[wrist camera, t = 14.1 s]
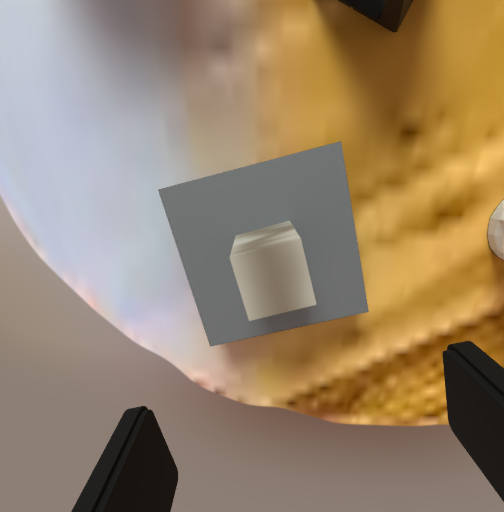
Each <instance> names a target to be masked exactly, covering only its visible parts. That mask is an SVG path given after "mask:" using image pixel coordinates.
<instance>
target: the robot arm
mask: <svg viewBox="0 0 504 512" xmlns="http://www.w3.org/2000/svg"><path fill="white" fill-rule="evenodd" d="M443 364H444V376H445V388H446V399H447V411H448V421H449V424H450V427H451V429H452V431H453V432H454V434H455V435H456V437H457V438H458V440H459V441H460V442H461V444H462V445H463V446H464V448H465V449H466V451H467V452H468V453H469V455H470V456H471V457H472V459H473V460H474V462H475V463H476V464H477V466H478V467H479V468H480V470H481V471H482V473H483V474H484V475H485V477H486V478H487V479H488V481H489V482H490V484H491V485H492V486H493V488H494V489H495V490H496V492H497V493H498V494H499V496H500V497H501V499H502V500H503V501H504V368H503V367H501V366H500V365H499V364H498V363H497V362H495V361H494V360H493V359H492V358H491V357H489V356H488V355H487V354H486V353H485V352H483V351H482V350H481V349H480V348H479V347H477V346H476V345H475V344H474V343H472V342H471V341H465V342H460V343H455V344H450V345H448V347H447V350H446V351H443ZM177 482H178V470H177V467H176V465H175V462H174V460H173V458H172V455H171V453H170V451H169V449H168V446H167V444H166V441H165V439H164V437H163V434H162V432H161V430H160V427H159V425H158V423H157V420H156V418H155V416H154V413H153V411H152V410H148V409H147V407H145V406H141V407H136V408H131V409H127V410H126V411H125V412H124V414H123V416H122V418H121V420H120V421H119V423H118V426H117V427H116V429H115V431H114V433H113V435H112V436H111V439H110V440H109V442H108V444H107V446H106V448H105V450H104V452H103V453H102V455H101V457H100V459H99V461H98V463H97V465H96V467H95V468H94V470H93V472H92V474H91V476H90V478H89V480H88V482H87V483H86V485H85V487H84V489H83V491H82V493H81V495H80V497H79V499H78V500H77V502H76V504H75V506H74V508H73V510H72V512H170V510H171V507H172V503H173V498H174V494H175V490H176V486H177Z"/></svg>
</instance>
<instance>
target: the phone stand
mask: <svg viewBox="0 0 504 512" xmlns="http://www.w3.org/2000/svg"><path fill="white" fill-rule="evenodd" d="M339 1H340V2H342V3H344V4H345V5H347V6H349V7H353V9H354V10H356V11H357V12H359V13H361V14H363V15H364V16H366V17H368V18H369V19H371V20H373V21H375V22H376V23H378V24H380V25H381V26H383V27H385V28H387V29H388V30H390V31H392V32H397V30H398V28H399V26H400V24H401V22H402V20H403V19H404V17H405V15H406V13H407V11H408V9H409V7H410V5H411V3H412V1H413V0H339Z"/></svg>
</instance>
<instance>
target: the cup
mask: <svg viewBox="0 0 504 512" xmlns="http://www.w3.org/2000/svg"><path fill="white" fill-rule="evenodd" d="M488 241H489V245H490V248H491V249H492V250H493V252H494V253H495V254H496V255H497V256H498V257H499V258H501V259H503V260H504V200H503V201H502V202H501V203H500V204H499V205H498V207H497V208H496V210H495V211H494V213H493V214H492V216H491V218H490V222H489V227H488Z"/></svg>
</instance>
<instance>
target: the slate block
mask: <svg viewBox="0 0 504 512" xmlns="http://www.w3.org/2000/svg"><path fill="white" fill-rule="evenodd" d="M158 191H159V194H160V197H161V200H162V203H163V206H164V209H165V212H166V215H167V218H168V221H169V224H170V227H171V230H172V233H173V236H174V239H175V242H176V245H177V248H178V251H179V254H180V257H181V260H182V263H183V266H184V269H185V272H186V275H187V278H188V281H189V284H190V287H191V290H192V293H193V296H194V299H195V302H196V305H197V308H198V311H199V314H200V317H201V320H202V323H203V326H204V329H205V332H206V335H207V338H208V341H209V344H210V346H215V345H219V344H224V343H228V342H233V341H238V340H242V339H247V338H251V337H256V336H260V335H265V334H270V333H274V332H279V331H283V330H288V329H292V328H297V327H302V326H306V325H311V324H315V323H320V322H324V321H329V320H334V319H338V318H343V317H347V316H352V315H356V314H361V313H366V312H369V311H368V305H367V299H366V293H365V287H364V281H363V274H362V268H361V262H360V256H359V250H358V243H357V237H356V231H355V225H354V219H353V213H352V206H351V200H350V194H349V188H348V182H347V175H346V169H345V163H344V157H343V151H342V145H341V141H340V142H337V143H333V144H329V145H325V146H322V147H318V148H314V149H310V150H306V151H303V152H299V153H295V154H291V155H288V156H284V157H280V158H276V159H272V160H269V161H265V162H261V163H257V164H254V165H250V166H246V167H242V168H238V169H235V170H231V171H227V172H223V173H220V174H216V175H212V176H208V177H204V178H201V179H197V180H193V181H189V182H186V183H182V184H178V185H174V186H170V187H167V188H163V189H159V190H158ZM287 221H290V222H291V224H292V225H293V227H294V228H295V230H296V232H297V233H298V235H299V236H300V238H301V241H302V245H303V249H304V254H305V258H306V262H307V266H308V270H309V275H310V279H311V283H312V287H313V292H314V296H315V300H316V304H317V305H313V306H309V307H305V308H301V309H297V310H293V311H288V312H284V313H280V314H276V315H272V316H268V317H264V318H260V319H256V320H251V321H249V319H248V316H247V313H246V309H245V306H244V303H243V300H242V296H241V293H240V290H239V287H238V284H237V280H236V277H235V274H234V271H233V267H232V264H231V261H230V258H229V257H230V254H231V250H232V247H233V243H234V240H235V236H236V235H239V234H243V233H246V232H250V231H254V230H258V229H261V228H265V227H269V226H273V225H276V224H280V223H284V222H287Z"/></svg>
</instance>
